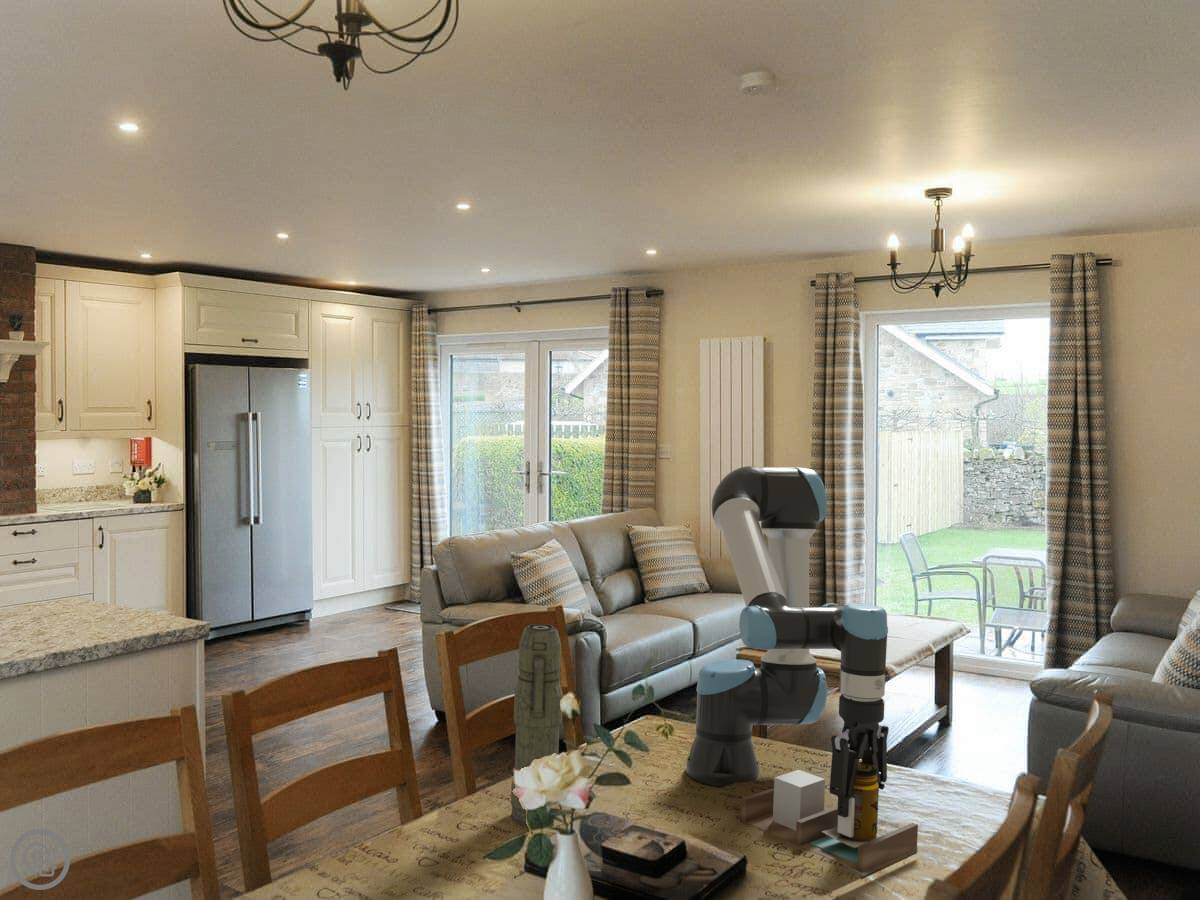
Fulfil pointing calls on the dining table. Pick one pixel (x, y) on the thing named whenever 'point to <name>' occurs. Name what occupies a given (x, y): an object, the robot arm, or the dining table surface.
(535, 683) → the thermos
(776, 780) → the block
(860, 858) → the rack
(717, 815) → the dining table surface
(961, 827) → the dining table surface
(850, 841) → the condiment
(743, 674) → the robot arm
